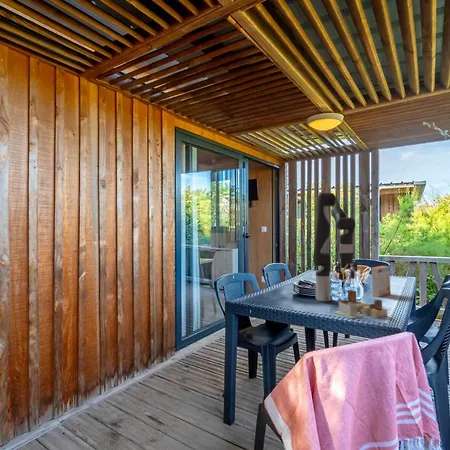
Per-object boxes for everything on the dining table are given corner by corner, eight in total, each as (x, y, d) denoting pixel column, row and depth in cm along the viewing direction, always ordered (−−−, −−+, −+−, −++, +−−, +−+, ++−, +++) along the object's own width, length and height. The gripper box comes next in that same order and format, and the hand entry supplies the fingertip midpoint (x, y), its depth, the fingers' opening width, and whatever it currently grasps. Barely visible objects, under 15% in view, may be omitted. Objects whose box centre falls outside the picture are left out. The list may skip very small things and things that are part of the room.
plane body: (344, 308, 198) (344, 290, 198) (354, 306, 201) (353, 289, 201) (377, 318, 176) (376, 298, 176) (387, 316, 179) (386, 297, 179)
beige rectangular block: (339, 312, 187) (338, 300, 187) (345, 311, 189) (345, 299, 189) (350, 316, 179) (350, 303, 179) (357, 314, 181) (356, 302, 181)
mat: (333, 312, 189) (333, 311, 189) (344, 310, 192) (344, 309, 192) (351, 318, 176) (351, 317, 176) (363, 316, 180) (363, 315, 180)
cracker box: (383, 293, 235) (382, 265, 235) (391, 294, 230) (390, 266, 230) (371, 295, 228) (371, 267, 228) (379, 297, 223) (378, 268, 223)
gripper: (350, 250, 190) (351, 277, 190) (332, 252, 185) (332, 279, 185) (360, 251, 183) (361, 279, 184) (341, 253, 178) (342, 281, 178)
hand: (346, 279), depth 184 cm, fingers open, 8 cm apart
